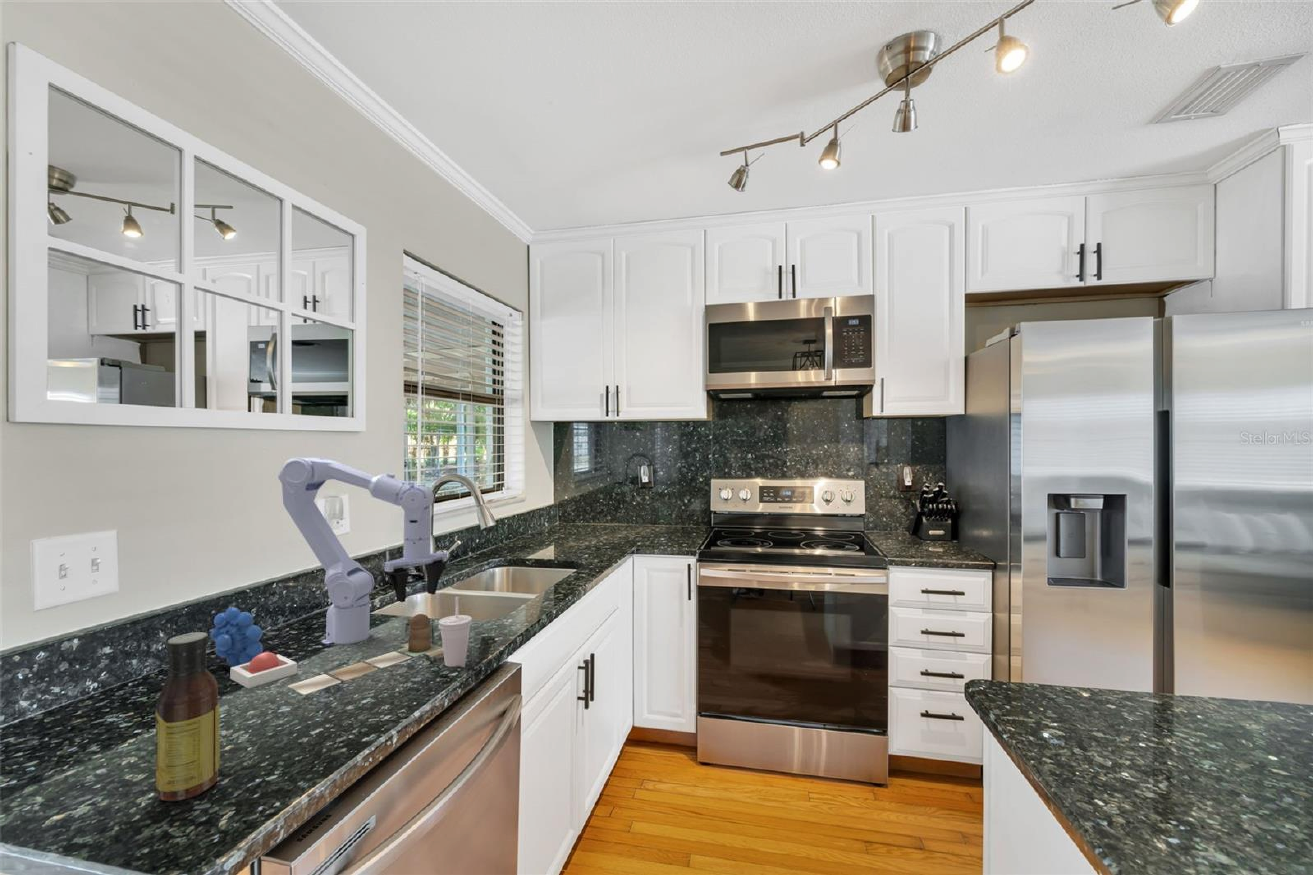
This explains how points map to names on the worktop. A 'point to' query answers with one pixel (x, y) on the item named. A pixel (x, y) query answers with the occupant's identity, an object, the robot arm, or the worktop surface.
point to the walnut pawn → (419, 634)
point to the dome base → (263, 673)
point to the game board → (361, 669)
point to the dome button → (263, 662)
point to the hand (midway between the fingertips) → (416, 597)
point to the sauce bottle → (187, 722)
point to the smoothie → (455, 638)
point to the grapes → (236, 637)
